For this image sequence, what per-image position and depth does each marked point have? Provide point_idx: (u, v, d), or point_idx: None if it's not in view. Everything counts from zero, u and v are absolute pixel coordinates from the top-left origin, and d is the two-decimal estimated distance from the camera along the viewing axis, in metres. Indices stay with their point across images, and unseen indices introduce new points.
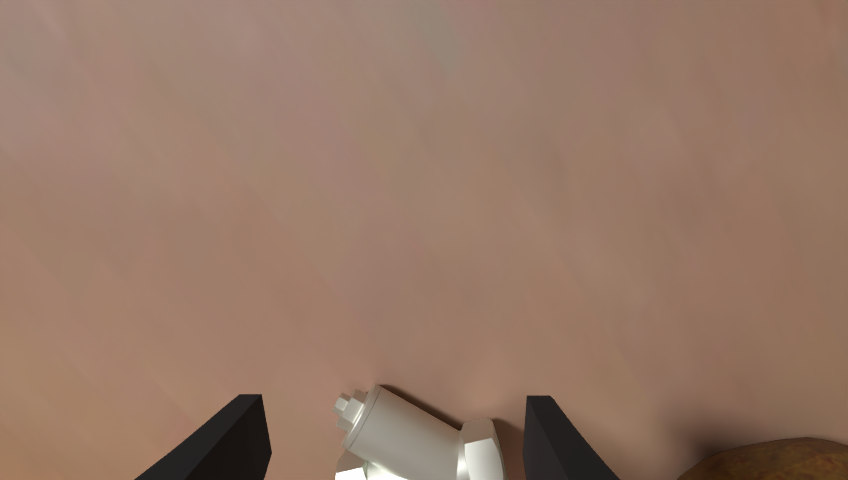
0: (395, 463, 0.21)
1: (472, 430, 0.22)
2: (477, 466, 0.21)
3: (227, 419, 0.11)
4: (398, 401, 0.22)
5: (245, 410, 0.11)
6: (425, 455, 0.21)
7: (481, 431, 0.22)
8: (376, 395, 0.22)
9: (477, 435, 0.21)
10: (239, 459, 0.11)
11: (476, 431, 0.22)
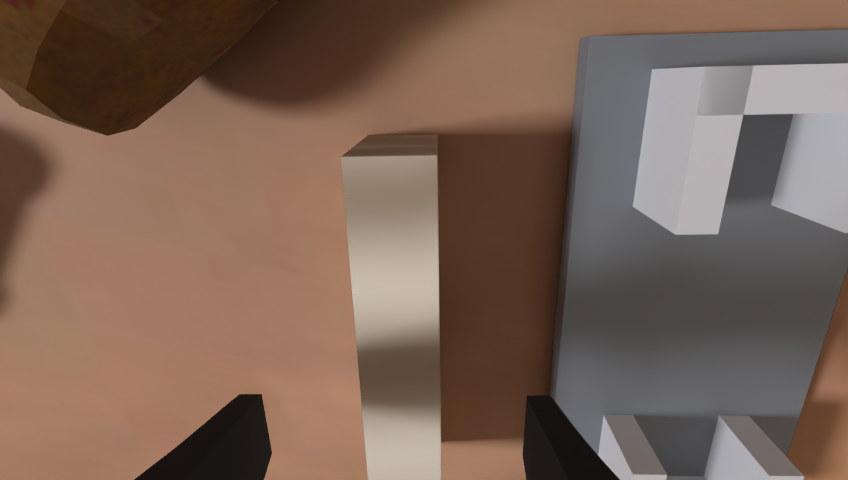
0: None
1: None
2: None
3: (227, 419, 0.11)
4: None
5: (245, 410, 0.11)
6: None
7: None
8: None
9: None
10: (239, 459, 0.11)
11: None
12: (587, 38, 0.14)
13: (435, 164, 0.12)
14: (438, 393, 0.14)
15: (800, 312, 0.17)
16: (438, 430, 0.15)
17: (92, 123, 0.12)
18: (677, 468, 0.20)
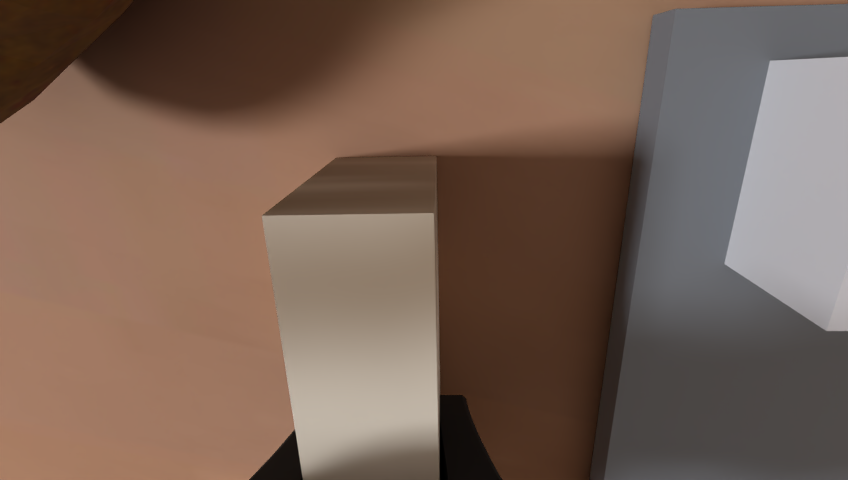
0: None
1: None
2: None
3: None
4: None
5: None
6: None
7: None
8: None
9: None
10: None
11: None
12: (670, 13, 0.09)
13: (431, 229, 0.06)
14: None
15: None
16: None
17: None
18: None
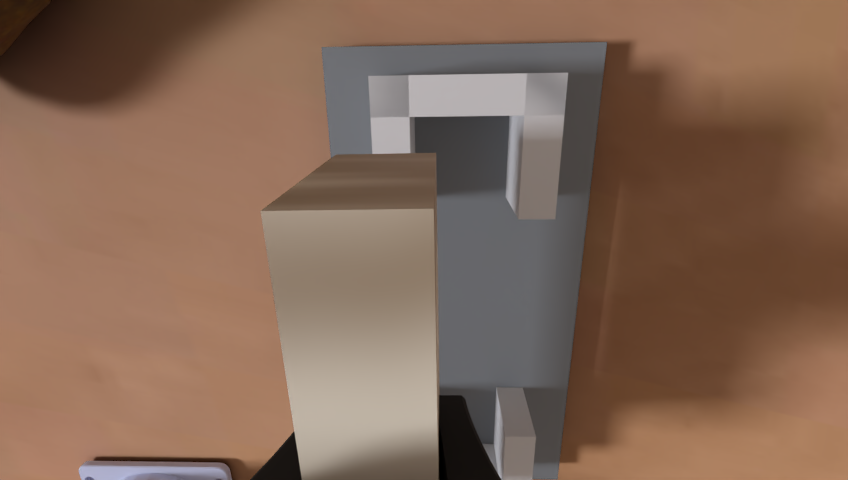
0: None
1: None
2: None
3: None
4: None
5: None
6: None
7: None
8: None
9: None
10: None
11: None
12: None
13: (430, 224, 0.06)
14: None
15: (550, 293, 0.19)
16: None
17: None
18: None
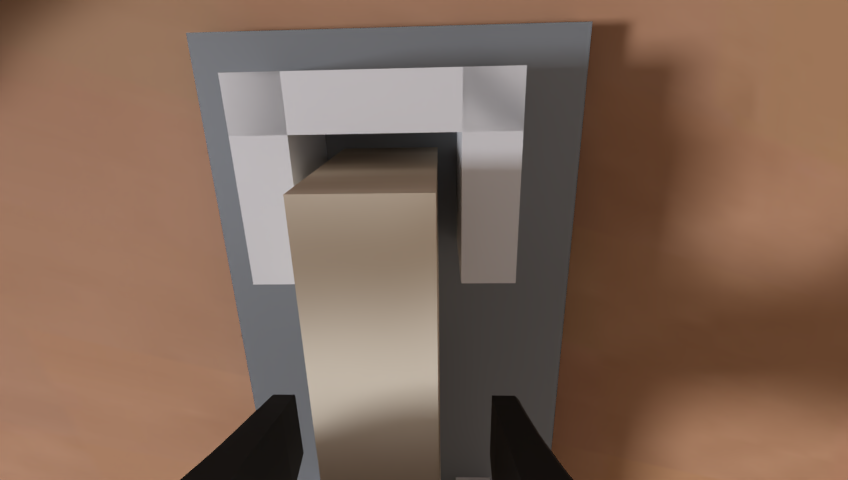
0: None
1: None
2: None
3: (265, 419, 0.11)
4: None
5: (281, 410, 0.11)
6: None
7: None
8: None
9: None
10: (276, 459, 0.11)
11: None
12: None
13: (433, 207, 0.07)
14: None
15: (521, 362, 0.14)
16: None
17: None
18: None
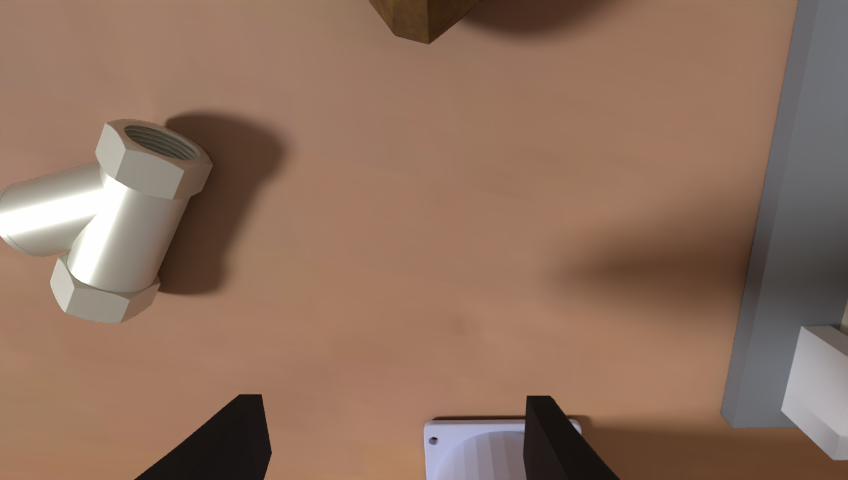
0: (52, 223, 0.18)
1: None
2: (107, 158, 0.17)
3: (227, 419, 0.11)
4: (42, 176, 0.19)
5: (245, 410, 0.11)
6: (65, 192, 0.17)
7: None
8: (12, 185, 0.19)
9: None
10: (239, 459, 0.11)
11: None
12: None
13: None
14: None
15: None
16: None
17: (432, 26, 0.13)
18: None
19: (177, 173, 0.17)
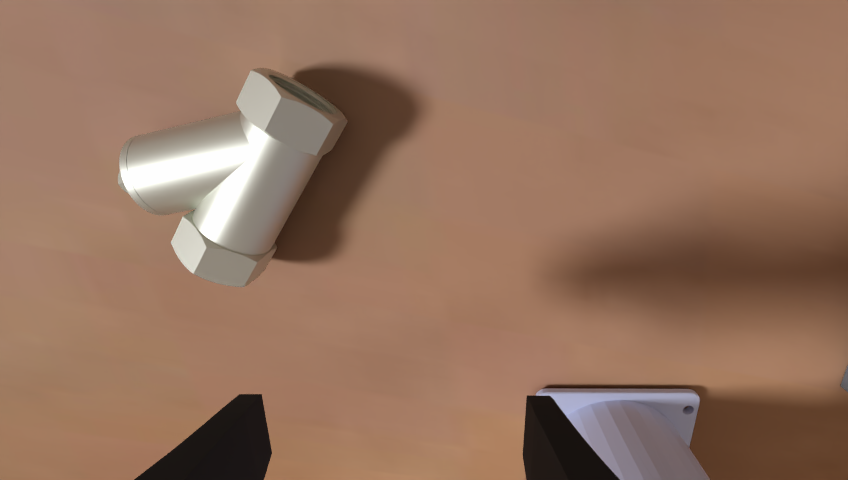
0: (186, 177, 0.16)
1: None
2: (254, 108, 0.16)
3: (227, 419, 0.11)
4: None
5: (245, 410, 0.11)
6: (203, 145, 0.16)
7: None
8: (135, 137, 0.17)
9: None
10: (239, 459, 0.11)
11: None
12: None
13: None
14: None
15: None
16: None
17: None
18: None
19: (326, 126, 0.16)
